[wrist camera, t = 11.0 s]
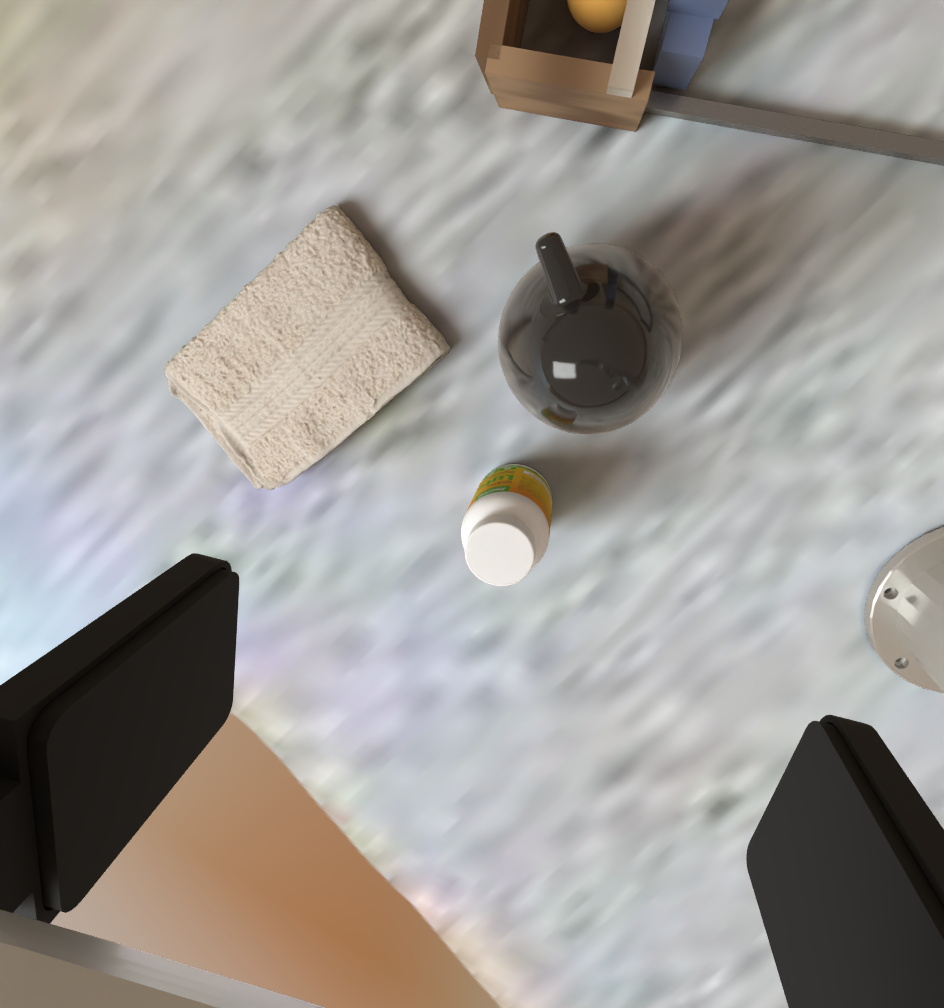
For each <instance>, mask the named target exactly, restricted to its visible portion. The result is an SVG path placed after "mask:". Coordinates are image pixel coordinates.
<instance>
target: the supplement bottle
mask: <svg viewBox="0 0 944 1008" xmlns="http://www.w3.org/2000/svg"><path fill="white" fill-rule="evenodd" d="M552 503H553V500H552V493H551V490H550V487H549V485H548V483H547V482H546V480H545V479H544V478H543V476H542V475H541V474H539V473H538V472H537V471H535V470H534V469H532V468H530V467H527V466H524V465H520V464H508V465H503V466H500V467H498V468H496V469H494V470H492V471H491V472H490V473H488V474H487V475H486V476H485V478H484V479H483V480H482V482H481V483H480V485H479V487H478V489H477V491H476V493H475V496H474V498H473V500H472V502H471V504H470V506H469V508H468V510H467V512H466V514H465V517H464V520H463V523H462V528H461V538H462V543H463V546H464V549H465V558H466V561H467V564H468V566H469V568H470V570H471V571H472V572H473V573H474V575H475V576H477V577H478V578H479V579H480V580H482V581H484V582H486V583H488V584H492V585H496V586H508V585H512V584H515V583H517V582H519V581H521V580H522V579H523V578H525V577H526V576H527V575H528V573H529V572H530V570H531V569H532V568H533V567H534V566H535V565H536V564H537V563H538V562H539V561H540V560H541V558H542V557H543V555H544V553H545V551H546V549H547V545H548V541H549V534H550V525H551V513H552Z"/></svg>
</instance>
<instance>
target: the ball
mask: <svg viewBox="0 0 944 1008" xmlns="http://www.w3.org/2000/svg"><path fill="white" fill-rule="evenodd" d="M567 3H568V7H569V10H570V12H571V14H572V16H573V17H574V19H575V20H576V21H577V23H578V24H579V25H580V26H582V27H583V28H585V29H586V30H588V31H591V32H595V33H606V32H610V31H613V30H615V29H617V28H619V27H620V26H622V22H623V17H624V13H625V9H626V4H627V0H567Z"/></svg>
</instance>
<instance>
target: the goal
mask: <svg viewBox="0 0 944 1008" xmlns="http://www.w3.org/2000/svg"><path fill="white" fill-rule="evenodd" d="M528 3H529V0H484V4H483V10H482V17H481V23H480V29H479V35H478V42H477V48H476V54H475V57H476V59H477V61H478V64H479V66H480V68H481V71H482V73H483V75H484V78H485V80H486V83H487V85H488V87H489V90H490V92H491V94H494V96H495V98H496V101H497V103H498V106H499V107H501V108H506V109H512V110H517V111H523V112H528V113H534V114H539V115H545V116H550V117H556V118H562V119H567V120H573V121H578V122H584V123H589V124H595V125H600V126H606V127H611V128H617V129H623V130H628V131H634V132H636V130H637V128H638V125H639V122H640V120H641V117H642V115H643V112H644V110H645V107H646V105H647V102H648V99H649V95H650V91H651V87H652V83H653V79H654V75H655V71H649V70H643V69H639V66H640V62H641V58H642V54H643V50H644V45H645V41H646V37H647V33H648V29H649V25H650V21H651V17H652V13H653V9H654V4H655V0H627V4H626V9H625V13H624V17H623V22H622V26H621V30H620V35H619V39H618V43H617V48H616V52H615V56H614V61H613V64H608V63H602V62H596V61H590V60H585V59H579V58H573V57H567V56H561V55H555V54H550V53H544V52H538V51H532V50H526V49H520V47H521V41H522V36H523V30H524V25H525V19H526V14H527V8H528Z"/></svg>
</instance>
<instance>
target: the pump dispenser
mask: <svg viewBox="0 0 944 1008" xmlns="http://www.w3.org/2000/svg"><path fill="white" fill-rule="evenodd" d="M536 251H537V254H538V257H539V260H540V261H539V262H538V263H537V264H536V265H534V266H533V267H532V268H531V269H530V270H529V271H528V272H527V273H526V274H525V275H524V276H523V277H522V278H521V279H520V281H519V282H518V283H517V285H516V286H515V288H514V289H513V291H512V292H511V294H510V296H509V298H508V300H507V302H506V305H505V307H504V310H503V313H502V316H501V320H500V325H499V333H498V351H499V358H500V363H501V367H502V371H503V374H504V376H505V379H506V381H507V383H508V385H509V387H510V389H511V391H512V392H513V394H514V395H515V397H516V398H517V400H518V401H519V402H520V403H521V404H522V406H523V407H524V408H525V409H526V410H527V411H528V412H530V413H531V414H532V415H533V416H534V417H536V418H537V419H539V420H540V421H542V422H543V423H545V424H547V425H549V426H551V427H553V428H556V429H558V430H561V431H565V432H569V433H575V434H601V433H606V432H610V431H614V430H617V429H620V428H622V427H624V426H627V425H629V424H631V423H632V422H634V421H636V420H637V419H639V418H640V417H642V416H643V415H644V414H645V413H647V412H648V411H649V410H650V409H651V408H652V407H653V406H654V405H655V404H656V403H657V402H658V401H659V400H660V398H661V397H662V396H663V394H664V393H665V391H666V390H667V388H668V387H669V385H670V383H671V381H672V379H673V377H674V375H675V372H676V369H677V367H678V363H679V360H680V355H681V349H682V338H683V332H682V321H681V315H680V310H679V307H678V303H677V301H676V298H675V296H674V293H673V291H672V289H671V288H670V286H669V284H668V283H667V281H666V280H665V278H664V277H663V276H662V274H661V273H660V272H659V271H658V270H657V269H656V268H655V267H654V266H653V265H652V264H651V263H649V262H648V261H647V260H645V259H644V258H642V257H641V256H639V255H638V254H636V253H634V252H632V251H629V250H627V249H624V248H621V247H618V246H614V245H609V244H600V243H590V244H580V245H575V246H571V247H567V248H566V247H565V245H564V243H563V240H562V238H561V236H560V235H559V234H558V233H556V232H551V233H547V234H545V235H543V236H542V237H540V238H539V239H538V241H537V242H536Z"/></svg>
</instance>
